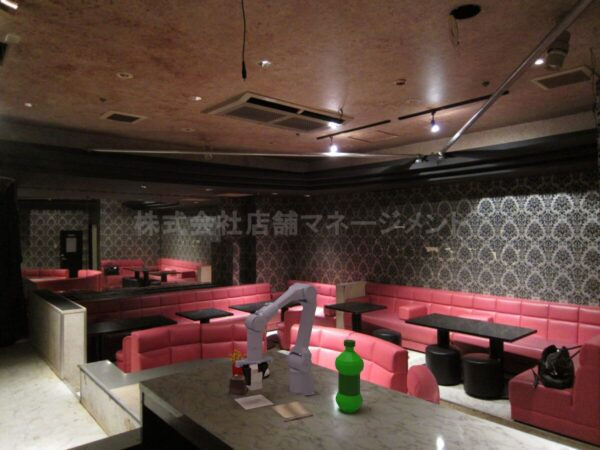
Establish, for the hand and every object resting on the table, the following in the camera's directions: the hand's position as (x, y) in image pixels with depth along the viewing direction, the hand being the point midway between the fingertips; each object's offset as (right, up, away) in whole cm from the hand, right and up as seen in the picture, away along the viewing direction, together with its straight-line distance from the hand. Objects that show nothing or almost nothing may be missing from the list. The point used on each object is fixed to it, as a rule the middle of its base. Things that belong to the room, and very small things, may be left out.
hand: (254, 383), depth 157 cm
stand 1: (0, -8, 0) cm, 8 cm away
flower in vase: (-2, -10, +35) cm, 37 cm away
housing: (0, -1, 0) cm, 1 cm away
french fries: (-9, -9, +19) cm, 23 cm away
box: (-7, -9, +9) cm, 15 cm away
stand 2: (+14, -8, -7) cm, 18 cm away
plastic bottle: (+35, -9, -3) cm, 36 cm away
